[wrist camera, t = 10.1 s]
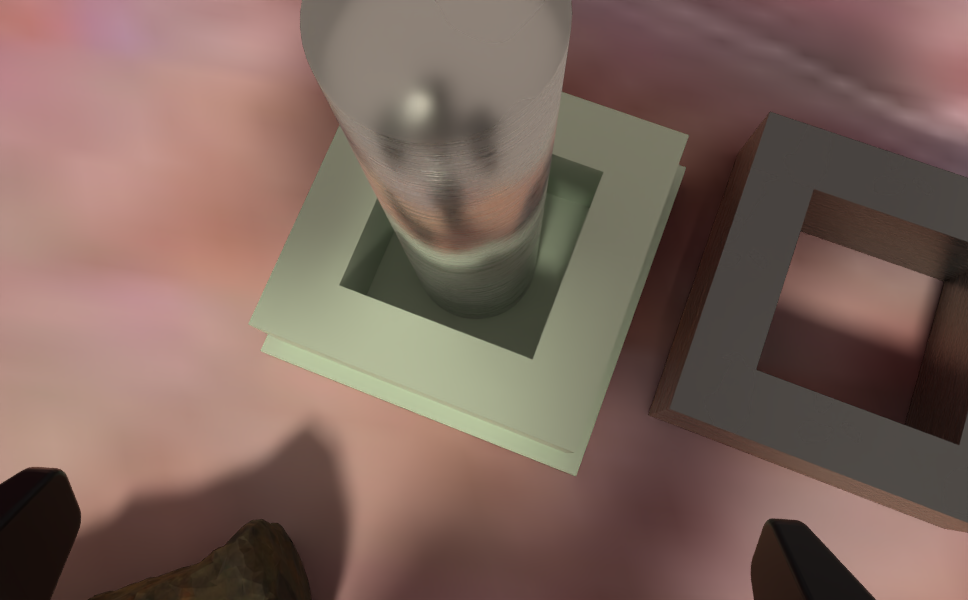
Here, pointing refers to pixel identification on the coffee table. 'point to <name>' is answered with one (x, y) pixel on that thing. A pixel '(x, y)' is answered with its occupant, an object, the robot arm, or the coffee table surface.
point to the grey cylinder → (450, 129)
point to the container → (495, 340)
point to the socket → (755, 293)
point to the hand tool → (232, 572)
